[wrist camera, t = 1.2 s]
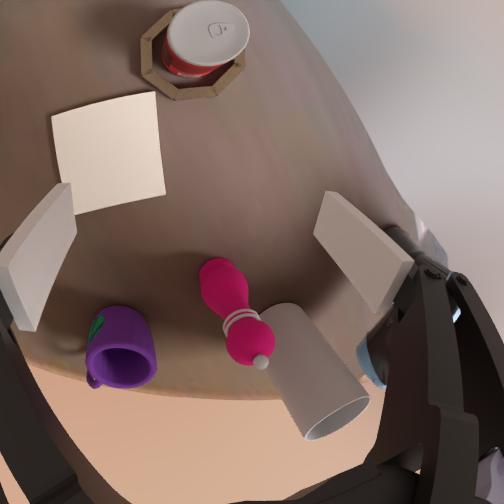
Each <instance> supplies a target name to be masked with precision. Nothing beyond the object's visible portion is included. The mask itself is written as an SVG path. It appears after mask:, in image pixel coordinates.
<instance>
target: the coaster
mask: <svg viewBox="0 0 504 504" xmlns="http://www.w3.org/2000/svg"><path fill="white" fill-rule="evenodd" d="M51 118H52V127H53V135H54V142H55V149H56V155H57V161H58V166H59V171H60V176H61V181H62V183H71V189H72V199H73V207H74V215H78V214H81V213H85V212H89V211H93V210H97V209H101V208H105V207H110V206H114V205H118V204H123V203H127V202H132V201H137V200H141V199H146V198H151V197H156V196H161V195H166V191H165V184H164V177H163V169H162V161H161V153H160V143H159V134H158V123H157V111H156V97H155V91H153V92H147V93H141V94H135V95H130V96H125V97H120V98H115V99H111V100H107V101H102V102H98V103H94V104H91V105H87V106H83V107H80V108H76V109H73V110H70V111H66V112H63V113H60V114H57V115H54V116H51Z"/></svg>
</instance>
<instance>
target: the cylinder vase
mask: <svg viewBox="0 0 504 504" xmlns="http://www.w3.org/2000/svg"><path fill="white" fill-rule="evenodd" d="M259 317H260V318H261V320H262V321H263V322H265V323H266V324H268V325H269V327H270V328H271V329H272V331H273V333H274V336H275V348H274V351H273V353H272V354H271V355H270V357H269V358H268V360H269V363H268V366H267V367H266V368H265V369H266V371H267V373H268V374H269V376H270V378H271V380H272V382H273V384H274V386H275V387H276V389H277V391H278V393H279V395H280V396H281V398H282V400H283V402H284V404H285V405H286V407H287V409H288V411H289V413H290V414H291V416H292V418H293V420H294V421H295V423H296V425H297V427H298V429H299V430H300V432H301V434H302V435H303V437H304V439H305V440H306V441H313V440H317V439H321V438H323V437H326V436H327V435H330V434H332V433H334V432H336V431H338V430H340V429H341V428H343V427H344V426H346V425H347V424H349V423H350V422H351V421H353V420H354V419H355V418H357V417H358V416H359V415H360V414H361V413H362V412H363V411H364V410H365V409H366V408H367V407H368V405H369V403H370V402H371V396H370V395H369V394H368V393H367V392H366V390H365V389H364V387H363V386H362V385H361V384H360V382H359V381H358V380H357V379H356V377H355V376H354V375H353V373H352V372H351V371H350V370H349V368H348V367H347V366H346V364H345V363H344V362H343V361H342V359H341V358H340V357H339V355H338V354H337V353H336V352H335V350H334V349H333V348H332V347H331V345H330V344H329V343H328V341H327V340H326V339H325V338H324V336H323V335H322V334H321V333H320V331H319V330H318V329H317V327H316V326H315V325H314V324H313V322H312V321H311V320H310V319H309V317H308V316H307V315H306V313H305V312H304V311H303V310H302V308H301V307H299V306H298V305H296V304H293V303H281V304H277V305H274V306H272V307H270V308H268V309H266V310H265V311H263V312H262V313H261V314H260V315H259Z"/></svg>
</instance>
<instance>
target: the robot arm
mask: <svg viewBox="0 0 504 504" xmlns="http://www.w3.org/2000/svg"><path fill="white" fill-rule="evenodd" d="M76 234H77V228H76V222H75V215H74V207H73V199H72V189H71V183H58V184H57V185H56V186H55V187H54V188H53V189H52V190H51V191H50V192H49V193H48V194H47V195H46V196H45V197H44V198H43V199H42V201H41V202H40V203H39V204H38V205H37V206H36V207H35V208H34V210H33V211H32V212H31V213H30V214H29V215H28V217H27V218H26V219H25V220H24V221H23V223H22V224H21V225H20V226H19V228H18V229H17V230H16V231H15V232H13V233H12V234H11V235H10V236H8V237H7V238H6V239H5V240H4V241H3V242H2V244H1V245H0V452H1V454H2V456H3V458H4V460H5V462H6V463H7V465H8V467H9V469H10V471H11V473H12V474H13V476H14V478H15V480H16V481H17V483H18V484H19V486H20V488H21V489H22V491H23V492H24V494H25V495H26V497H27V499H28V501H29V503H30V504H131V503H130V502H129V501H127V500H126V499H125V498H123V497H122V496H121V495H119V494H118V493H117V492H116V491H115V490H114V489H113V488H112V487H111V486H110V485H109V484H108V483H107V482H106V480H105V479H103V477H102V476H101V475H100V474H99V473H98V472H97V470H96V469H95V468H94V467H93V466H92V465H91V463H90V462H89V461H88V460H87V459H86V457H85V456H84V455H83V453H82V452H81V451H80V450H79V448H78V447H77V446H76V444H75V443H74V442H73V440H72V439H71V438H70V437H69V435H68V433H67V432H66V430H65V429H64V428H63V426H62V425H61V423H60V422H59V420H58V419H57V417H56V415H55V414H54V413H53V411H52V409H51V407H50V406H49V404H48V403H47V401H46V399H45V397H44V396H43V394H42V392H41V390H40V388H39V387H38V385H37V383H36V381H35V379H34V377H33V375H32V373H31V372H30V369H29V367H28V365H27V363H26V361H25V359H24V356H23V354H22V352H21V350H20V347H19V345H18V343H17V340H16V338H15V335H14V333H13V331H12V329H11V327H10V325H11V323H12V320H13V319H14V321H15V323H16V324H17V326H18V328H19V330H24V331H34V332H36V329H37V326H38V323H39V320H40V317H41V314H42V311H43V309H44V306H45V303H46V301H47V298H48V296H49V293H50V291H51V288H52V286H53V283H54V281H55V279H56V276H57V274H58V272H59V269H60V267H61V265H62V263H63V261H64V259H65V256H66V254H67V252H68V250H69V248H70V246H71V244H72V242H73V240H74V238H75V236H76ZM313 235H314V236H315V237H316V239H317V240H318V241H319V242H320V243H321V245H322V246H323V247H324V248H325V250H326V251H327V252H328V254H329V255H330V256H331V257H332V259H333V260H334V261H335V262H336V264H337V265H338V266H339V268H340V269H341V270H342V271H343V273H344V274H345V275H346V277H347V278H348V279H349V281H350V282H351V283H352V285H353V286H354V287H355V288H356V290H357V291H358V292H359V294H360V295H361V297H362V298H363V299H364V301H365V302H366V303H367V305H368V306H369V307H370V309H371V310H372V312H373V313H374V314H380V313H385V312H386V313H385V314H384V316H383V317H382V318H381V319H380V320H379V321H378V323H377V324H376V325H375V326H374V327H373V328H372V329H371V330H370V331H369V332H368V333H367V334H366V336H365V337H364V339H363V340H362V341H361V342H360V343H359V345H358V346H357V350H356V356H357V360H358V362H359V364H360V366H361V368H362V370H363V371H364V373H365V374H366V375H367V377H368V378H369V379H371V380H372V382H373V383H374V384H375V385H376V386H378V387H379V388H383V389H385V388H386V392H385V399H384V404H383V410H382V415H381V420H380V426H379V430H378V434H377V439H376V442H375V444H374V446H373V448H372V449H371V451H370V452H369V453H368V455H367V457H366V458H365V460H364V462H363V464H361V465H358V466H357V467H354V468H352V469H349V470H347V471H345V472H342V473H340V474H337V475H335V476H333V477H331V478H329V479H327V480H324V481H322V482H320V483H317V484H315V485H313V486H310V487H308V488H305V489H303V490H300V491H299V492H297V493H295V494H294V495H292V496H290V497H288V498H286V499H284V500H281V501H242V502H236V503H230V504H504V344H503V341H502V339H501V337H500V335H499V333H498V331H497V329H496V327H495V325H494V323H493V321H492V319H491V317H490V315H489V313H488V312H487V310H486V308H485V306H484V305H483V303H482V301H481V299H480V297H479V296H478V294H477V293H476V291H475V289H474V287H473V286H472V284H471V283H470V281H469V280H468V279H467V278H466V276H464V275H463V274H461V273H458V272H453V271H450V270H449V269H447V268H446V267H444V266H443V265H442V264H440V263H439V262H437V261H436V260H434V259H433V258H431V257H430V256H428V255H427V254H425V253H424V252H423V251H421V250H420V249H419V247H418V246H417V245H416V243H415V242H414V241H413V240H412V238H411V237H410V235H409V234H408V233H407V232H406V231H404V230H402V229H401V228H399V227H389V228H387V229H385V230H383V231H382V230H381V229H380V228H379V227H378V226H377V225H375V224H374V223H373V222H372V221H371V220H370V219H369V218H367V217H366V216H365V215H364V214H363V213H362V212H360V211H359V210H358V209H357V208H356V207H354V206H353V205H352V204H351V203H350V202H348V201H347V200H346V199H345V198H344V197H342V196H341V195H340V194H339V193H337V192H332V191H325V194H324V198H323V201H322V205H321V208H320V212H319V215H318V219H317V222H316V225H315V229H314V232H313ZM393 302H394V304H393V305H392V306H391V304H392V303H393ZM390 306H391V307H390ZM388 309H389V310H388ZM460 312H461V314H460ZM459 314H460V315H459ZM458 316H459V317H458ZM420 469H421V470H420ZM417 470H420V475H419V474H417V473H415V471H417ZM0 504H9V503H8V501H7V498H6V496H5V494H4V491H3V488H2V486H1V483H0Z"/></svg>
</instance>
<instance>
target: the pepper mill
mask: <svg viewBox="0 0 504 504" xmlns="http://www.w3.org/2000/svg"><path fill="white" fill-rule="evenodd" d="M199 281H200V284H201V296H202V298H203V300H204V302H205V304H206V305H207V306H208V307H209V308H210V309H211V310H212V311H214V312H215V313H217V314H218V315H219V316H221V317H222V319H223V321H224V324H223V331H224V333H225V335H226V338H227V340H226V347H227V351H228V353H229V354H230V356H231V357H232V358H233V359H234V360H235V361H236V362H238V363H240V364H242V365H248V366H250V365H254V366H255V367H256V368H257V369H265V368H266V367H267V366H268V363H269V360H268V358H269V357H270V355H271V354H272V353H273V351H274V348H275V336H274V333H273V331H272V329H271V328H270V327H269V325H268V324H266V323H265V322H263V321H262V320H261V318H260V317H259V315H258V314H257V312H255V311H254V310H251V309H250V308H249V305H248V295H249V290H248V284H247V281H246V279H245V277H244V275H243V274H242V273H241V272H240V271H239V270H237V269H236V268H235V266H234V265H233V263H232V262H231V261H229V260H228V259H224V258H215V259H212V260H210V261H208V262H206V263H205V264H204V265H203V266H202V268H201V269H200V272H199Z"/></svg>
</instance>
